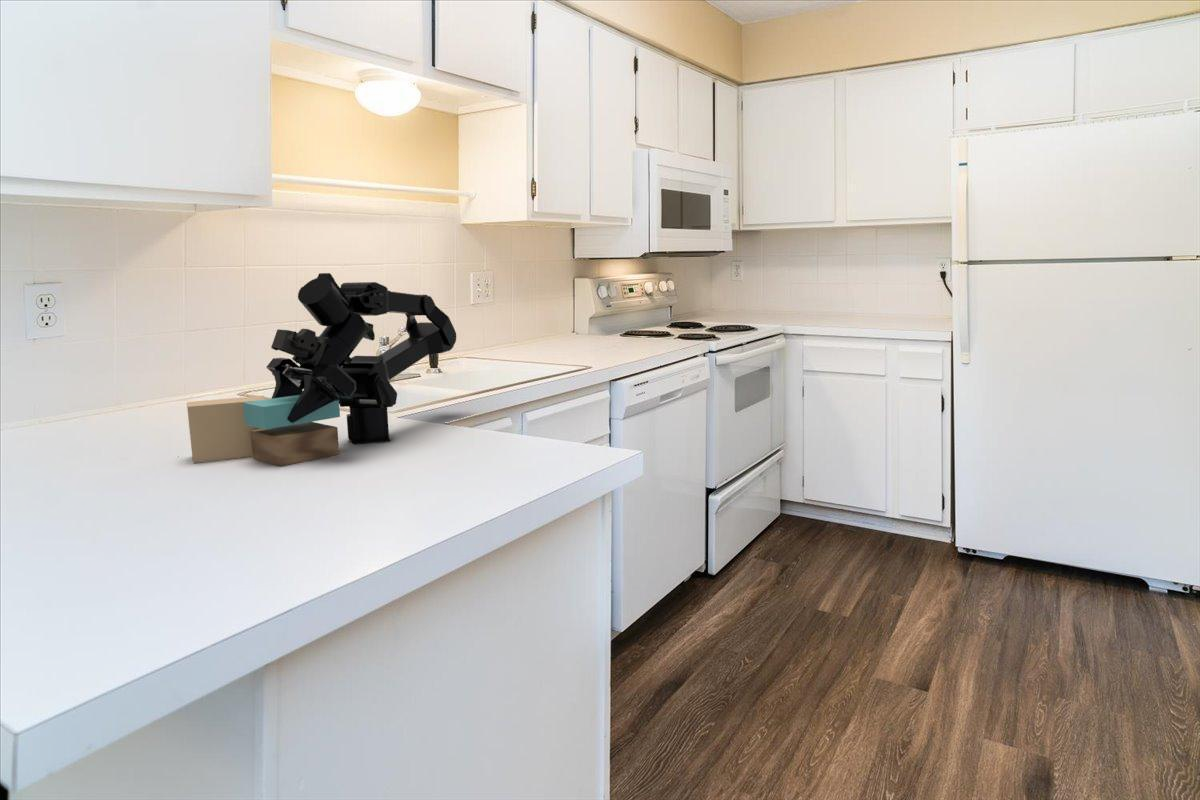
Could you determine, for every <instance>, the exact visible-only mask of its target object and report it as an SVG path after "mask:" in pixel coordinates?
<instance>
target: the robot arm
mask: <svg viewBox="0 0 1200 800" xmlns="http://www.w3.org/2000/svg"><path fill="white" fill-rule="evenodd" d="M297 300H298V301H299V302H300V304H301V305H302V306H303V307H304V308H305V309H306V310H307V312H308V313H309V314H310V315H311V316H312V317H313V319H314V320H315V321H316V322H317V324H318V325H319V326H322V327H325V328H324V330H322V332H321V333H320V335H318V336H317V334H316V331H314V330H312V329H309V328H300V330H299V331H295V330H294V331H292V330H288V329H276V331H275V336H274V338H273V341H272V344H271V345H270V346H271V349H272V350H274V351H281V352H283V353H286V354H288V355H292V358H287V357H286V358H285V357H275V358H272V359H271V361H270V362H269V363H268V364H267V365H266V369H267V370H268V371H269V372H271V374H272V376H273V377H274V380H275V387H274V390H273V394H272V395H271V399H274V398H281V397H288V396H295V395H300V397H299V398H298V400H297V402H296V403H295V405H294V407H293V408H292V410H291V412H290V414H289V416H288V418H287V419H288V420H289V421H290V422H291V423H294V422H296V421H297V420H299V419H301V418H303V417H305V416H306V415H308V414H310V413H312V412H314V411H316V410H318V409H319V408H321V407H323V406H325V405H327V404H329V403H332V402H334V401H338V400H339V408H345V407H349V413H348V414H346V425H347V426H346V427H347V429H346V430H347V439H348V440H349V441H350V442H351V445H362V444H372V443H374V442H375V443H384V442H386V441H387V442H391V436H390V431H389V429H390V428H389V415H388V408H392V407H393V406H395V405H396V404H397V397H398V392H397V391H396V389H395V388H394V387H393V385H392V384H391V382H390V381H391V380H392V379H394V378H395V377H397V376H399V374H402V372H404V371H405V370H407V369H408V368H411V367H412V366H413V365H414V364H416V363H418V362H419V361H421V360H422V359H424V358H426V357H427V356H430V355H431V356H432V355H437V354H443V353H446V352H450V351H451V350H453V348H454V346H455V344H456V343H457V332H456V330H455V327H454V325H453V324H452V321H451V319H450V316H448V315H447V314H446V313H445V312H444V311H443V310H442V309H440V308H439V307H438V306H437V305H436V303H435V301H434V299H433V297H432V296H431V295H428V294H413V293H405V292H397V291H391V290H389V289H388V287H387V286H385V285H383V284H381V283H379V282H376V281H371V282H370V281H366V282H364V281H363V282H359V281H358V282H356V281H355V282H343V283H341V284H340V286H339V285H338V283H337V282H336V280H335V278H334V277H333V275H332V274H331V273H330V272H328V273H327V272H325V273H324V272H323V273H322V272H321V273H320V272H319V273H318V275H317V277H316V278H314V279H311V280H310V281H308V282H307V283H305V284H304V285H303V286H302V287H300V289H299V290H298V294H297ZM388 313H393V314H403V315H405V316H406V324H405V330H406V332H407V334H408V337H407V338H405V339H404V340H403V341H401V342H399V343H397V344H396V345H394V346H393V347H390V348H389V349H387V350H386V351H384V352H381V354H379V355H354V356H351V354H352V353H353V352H354V351H355V349H356V348H357V347H358V345H359V344H360V343H361V341H362V340H363V339H366V340H369V341H374V340H375V337H376V336H375V334H376V333H375V331H374V324H373V323H368V322H367V321H365V319H364V318H363V317H366V316H367V317H368V316H369V317H373V316H374V317H376V316H381V315H386V314H388ZM416 316H425V317H426V319H427V320H428V321H430V322H428V321H427V322H425V321H424V322H421V321H420V322H418V321H417V319H416ZM298 364H299V365H298ZM338 396H339V397H338Z"/></svg>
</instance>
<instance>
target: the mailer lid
mask: <svg viewBox="0 0 1200 800" xmlns="http://www.w3.org/2000/svg"><path fill="white" fill-rule="evenodd" d="M299 397H300V395H295V396H288V397H281V398H274V399H272V398H268V399H267V398H266V400H259V401H252V402H245V403H243V407H244V417H245V425H248V426H252V427H257V428H261V429H265V430H266V429H272V428H278V427H284V426H290V425H296V424H301V423H307V422H318V421H324V420H329V419H335V418H340V417H341V409H340V404H339V400H338V401H334V402H332V403H329V404H327V405H325V406H323V407H321V408H319V409H318V410H316V411H314V412H312V413H310V414H308V415H306V416H305V417H303V418H301V419H299V420H297V421H296V422H294V423H291V422H290V421H289V420H288V419H287V418H288V416H289V414H290V412H291V410H292V408H293V407H294V405H295V403H296V402H297V400H298V398H299ZM338 397H339V396H338Z"/></svg>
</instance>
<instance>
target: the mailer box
mask: <svg viewBox="0 0 1200 800" xmlns="http://www.w3.org/2000/svg"><path fill="white" fill-rule="evenodd" d="M259 400H267V398H266V397H265V396H264V395H255V396H246V397H245V396H244V397H233V398H231V397H230V398H220V399H210V400H196V401H195V400H194V401H186V409H187V410H186V411H187V419H188V420H187V421H188V428H189V438H190V448H191V457H192V462H193V464H198V463H199V464H200V463H206V462H207V463H208V462H218V461H222V460H223V461H224V460H225V461H226V460H233V459H241V458H250V457H253V454H252V443H251V432H250V431H251V430H257V429H261V428H257V427H252V426H248V425H245V417H244V407H243V403H245V402H252V401H259Z"/></svg>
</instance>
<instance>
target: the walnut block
mask: <svg viewBox="0 0 1200 800" xmlns="http://www.w3.org/2000/svg"><path fill="white" fill-rule="evenodd" d="M338 431H339V429H338V427H337V426H333V425H329V424H324V423H318V422H316V421H313V422H307V423H301V424H296V425H290V426H284V427H278V428H272V429H266V430H265V429H257V430H251V431H250V432H251V443H252V454H253V456H252V459H255V460H258V461H261V462H265V463H268V464H271V465H275V466H279V467H283V466H288V465H293V464H299V463H303V462H308V461H312V460H317V459H323V458H327V457H333V456H337V455H340V446H339V445H340V444H339V433H338Z"/></svg>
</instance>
